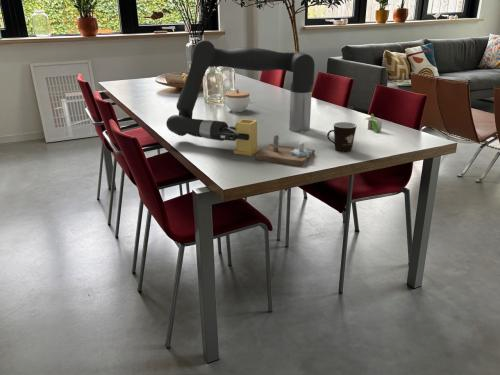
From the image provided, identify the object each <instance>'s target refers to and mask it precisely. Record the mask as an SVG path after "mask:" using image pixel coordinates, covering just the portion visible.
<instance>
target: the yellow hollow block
mask: <svg viewBox="0 0 500 375" xmlns="http://www.w3.org/2000/svg"><path fill="white" fill-rule="evenodd" d="M235 125H236V132H237V133H239V134H240V133H243V134H249V140H242V139H239V140H236V141H235V147H236V148H235V149H233V154H235V155H243V156H248V157H252V156H253V155H256V154H257V153H259V152H260V151H261V149H260V148H261V147H260V146H259V147H258V120H256V119H248V118H242V119H240V120H238V121H236V122H235Z"/></svg>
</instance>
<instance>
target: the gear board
mask: <svg viewBox="0 0 500 375" xmlns="http://www.w3.org/2000/svg"><path fill="white" fill-rule="evenodd" d="M272 140H273V144H271V143H270V144H269V145H268V146H267V145H266V147H265V148H263V149H262V150H259V151H258V152H257V153H255V160H257V161H261V162H262V161H263V162H269V163H275V164H276V163H277V164H282V165H283V164H284V165H289V166H296V167H304V166H305V165H306V164H307V163H308V162H309V161H310V160H311V159H312V158H313V157H314V156H315V152H316V151H315V150H316V149H310V148H306V149H307V150H309V151H312V154H310V155H309V157H299V158H298V157H296V156H294V155H291V151H293V149H299V147H294V146H287V145H279V134H273V139H272Z"/></svg>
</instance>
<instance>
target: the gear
mask: <svg viewBox="0 0 500 375" xmlns="http://www.w3.org/2000/svg"><path fill="white" fill-rule="evenodd" d="M298 148H299V149H293V151H291V155H294V156H296V157H298V158H299V157H309V155H310V154H312V151H309V150H307V149H308V148H305V143H304V142H299V143H298Z"/></svg>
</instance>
